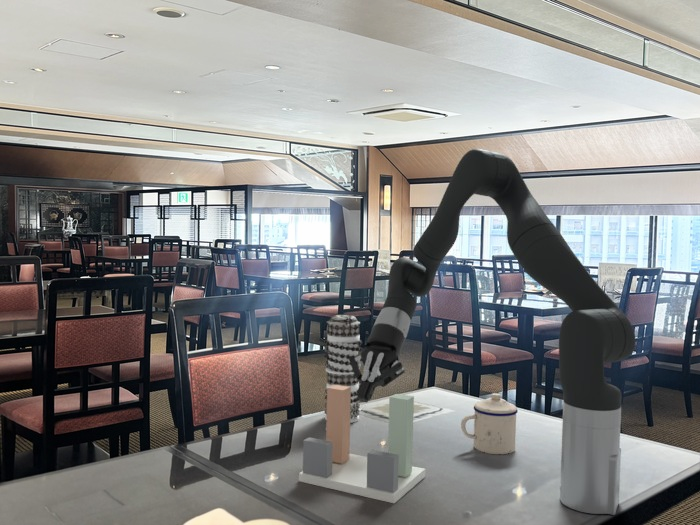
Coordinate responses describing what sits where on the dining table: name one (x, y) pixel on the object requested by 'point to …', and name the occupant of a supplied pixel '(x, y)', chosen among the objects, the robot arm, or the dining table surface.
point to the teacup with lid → (493, 425)
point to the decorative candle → (343, 357)
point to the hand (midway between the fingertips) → (362, 400)
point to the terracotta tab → (339, 421)
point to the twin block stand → (357, 472)
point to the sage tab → (401, 431)
